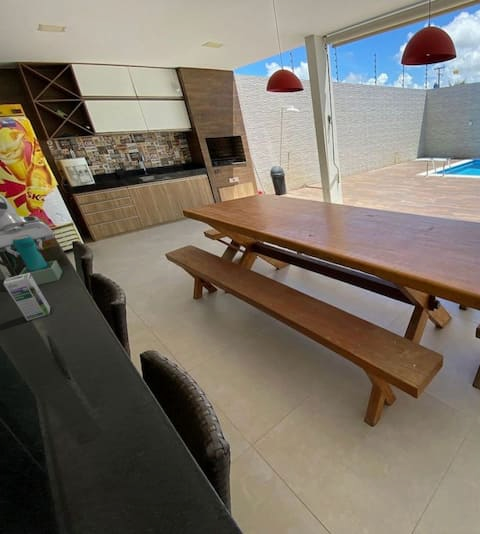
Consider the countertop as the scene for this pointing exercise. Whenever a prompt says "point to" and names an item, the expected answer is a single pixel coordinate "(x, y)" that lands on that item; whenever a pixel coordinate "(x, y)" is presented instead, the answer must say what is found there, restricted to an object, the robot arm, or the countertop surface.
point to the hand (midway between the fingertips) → (30, 252)
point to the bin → (45, 273)
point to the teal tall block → (30, 253)
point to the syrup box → (27, 296)
